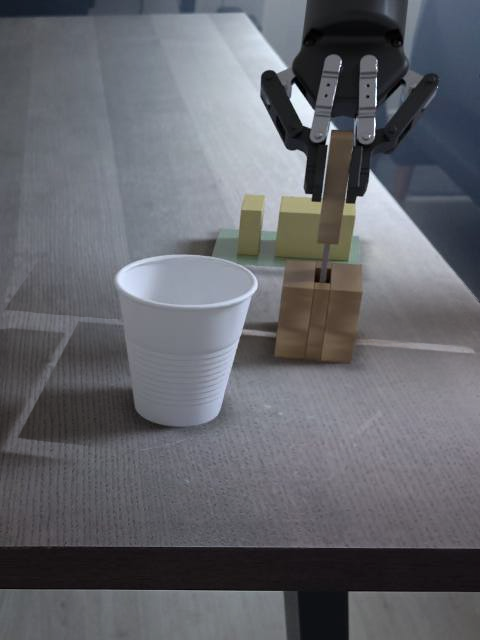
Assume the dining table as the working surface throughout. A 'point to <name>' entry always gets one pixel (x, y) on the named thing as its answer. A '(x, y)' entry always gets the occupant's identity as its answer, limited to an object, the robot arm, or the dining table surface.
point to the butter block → (310, 230)
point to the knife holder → (319, 311)
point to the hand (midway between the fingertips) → (334, 197)
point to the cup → (182, 333)
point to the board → (266, 250)
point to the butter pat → (251, 224)
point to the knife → (334, 192)
